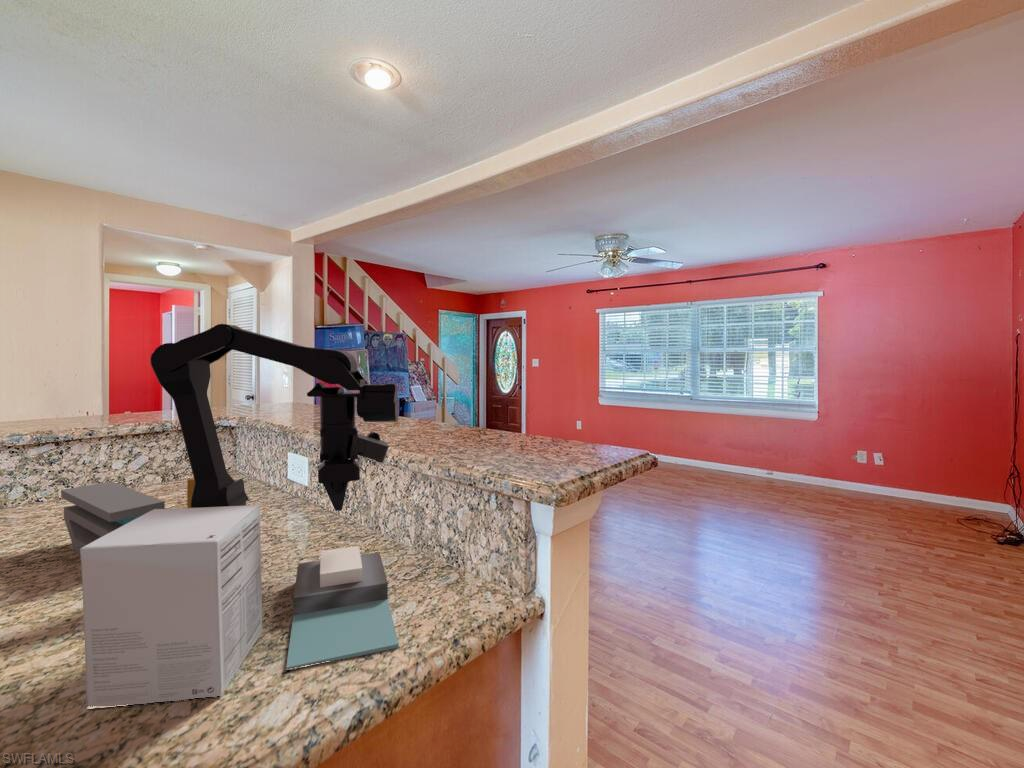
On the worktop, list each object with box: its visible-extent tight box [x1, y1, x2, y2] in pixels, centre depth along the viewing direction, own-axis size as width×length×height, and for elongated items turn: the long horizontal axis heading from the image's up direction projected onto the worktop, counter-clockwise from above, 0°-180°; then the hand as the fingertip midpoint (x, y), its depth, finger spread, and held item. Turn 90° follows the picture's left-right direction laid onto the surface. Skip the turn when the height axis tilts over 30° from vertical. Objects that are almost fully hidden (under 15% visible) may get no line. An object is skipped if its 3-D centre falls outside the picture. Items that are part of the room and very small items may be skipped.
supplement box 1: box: [79, 504, 263, 707], centre depth 56 cm, size 13×13×18 cm
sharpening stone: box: [60, 480, 166, 557], centre depth 88 cm, size 25×8×11 cm, turn 58°
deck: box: [292, 551, 389, 615], centre depth 74 cm, size 13×12×3 cm
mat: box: [285, 598, 400, 670], centre depth 63 cm, size 13×12×1 cm
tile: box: [319, 545, 363, 587], centre depth 74 cm, size 6×9×2 cm, turn 21°
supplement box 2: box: [186, 477, 195, 508], centre depth 105 cm, size 3×3×10 cm
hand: (338, 510), depth 82 cm, fingers closed
